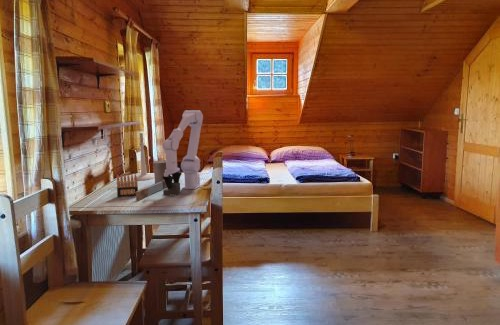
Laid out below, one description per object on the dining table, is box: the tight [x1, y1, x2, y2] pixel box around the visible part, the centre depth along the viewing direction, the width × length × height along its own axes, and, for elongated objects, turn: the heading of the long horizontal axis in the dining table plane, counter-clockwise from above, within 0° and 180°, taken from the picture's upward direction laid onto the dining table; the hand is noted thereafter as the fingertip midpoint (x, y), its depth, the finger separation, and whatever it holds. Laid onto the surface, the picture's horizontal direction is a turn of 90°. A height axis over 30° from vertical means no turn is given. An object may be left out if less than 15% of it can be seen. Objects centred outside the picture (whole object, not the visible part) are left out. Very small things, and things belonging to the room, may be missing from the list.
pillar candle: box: [152, 159, 172, 184], centre depth 229 cm, size 10×10×15 cm
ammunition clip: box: [116, 173, 139, 198], centre depth 200 cm, size 11×2×12 cm, turn 100°
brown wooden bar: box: [135, 180, 168, 202], centre depth 205 cm, size 30×2×5 cm, turn 164°
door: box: [146, 182, 164, 196], centre depth 208 cm, size 16×1×4 cm, turn 164°
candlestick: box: [136, 132, 155, 182], centre depth 245 cm, size 13×13×30 cm
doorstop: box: [162, 182, 181, 196], centre depth 203 cm, size 8×4×6 cm, turn 74°
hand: (173, 187), depth 203 cm, fingers open, 7 cm apart
